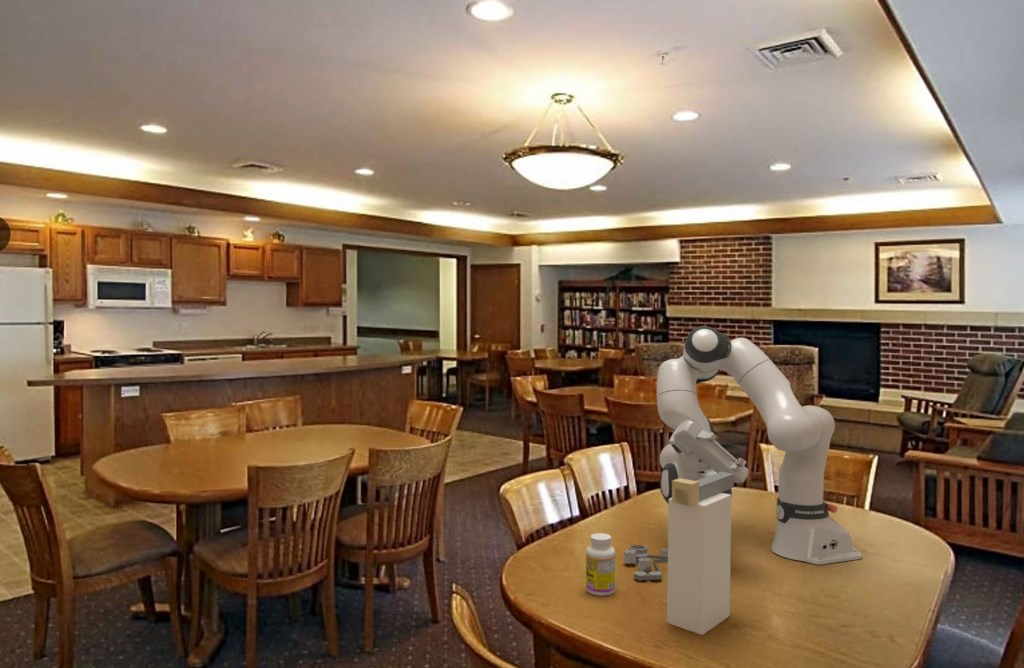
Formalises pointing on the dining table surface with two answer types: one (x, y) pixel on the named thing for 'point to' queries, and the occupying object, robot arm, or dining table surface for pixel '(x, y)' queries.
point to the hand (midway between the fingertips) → (728, 449)
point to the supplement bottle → (600, 566)
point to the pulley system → (645, 561)
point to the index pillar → (699, 563)
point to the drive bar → (700, 488)
